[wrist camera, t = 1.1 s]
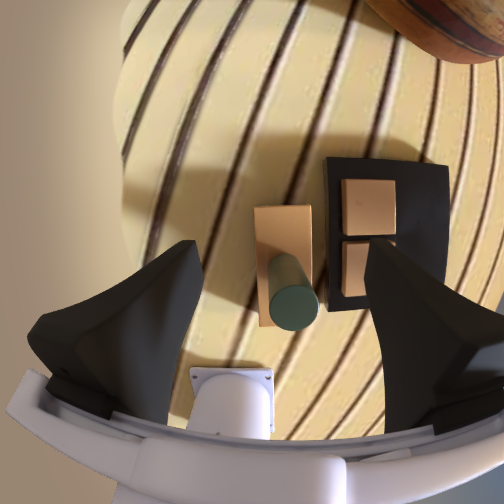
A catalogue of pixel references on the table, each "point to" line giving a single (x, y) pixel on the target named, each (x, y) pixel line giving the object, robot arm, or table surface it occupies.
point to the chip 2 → (354, 267)
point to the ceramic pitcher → (449, 27)
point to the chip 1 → (368, 206)
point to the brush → (284, 266)
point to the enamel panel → (407, 218)
